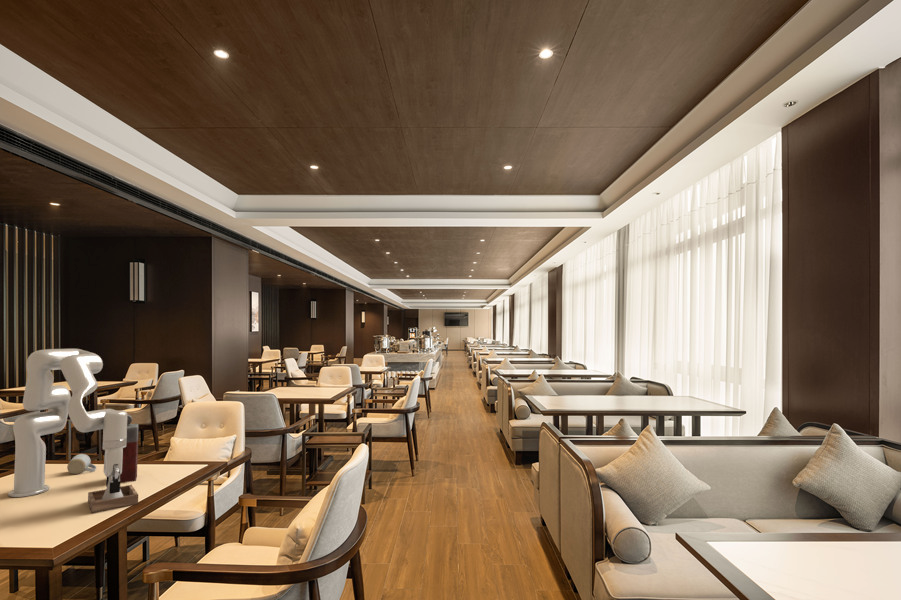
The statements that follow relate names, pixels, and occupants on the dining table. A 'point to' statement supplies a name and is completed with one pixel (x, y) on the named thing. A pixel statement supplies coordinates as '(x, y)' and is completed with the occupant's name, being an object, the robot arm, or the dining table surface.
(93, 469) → the ceramic mug
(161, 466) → the dining table surface
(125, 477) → the red decanter
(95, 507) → the box
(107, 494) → the flask
